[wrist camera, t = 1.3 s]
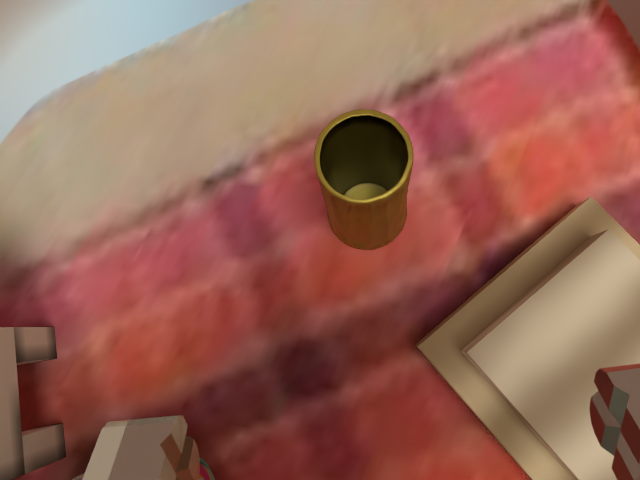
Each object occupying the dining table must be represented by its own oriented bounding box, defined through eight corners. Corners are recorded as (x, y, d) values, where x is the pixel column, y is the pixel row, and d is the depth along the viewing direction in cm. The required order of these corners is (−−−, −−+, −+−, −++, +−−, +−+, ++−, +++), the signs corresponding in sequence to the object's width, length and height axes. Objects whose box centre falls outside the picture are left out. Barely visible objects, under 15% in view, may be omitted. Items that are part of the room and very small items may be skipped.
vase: (422, 219, 42) (446, 167, 28) (357, 266, 42) (348, 235, 28) (376, 158, 43) (376, 78, 29) (312, 203, 43) (282, 144, 29)
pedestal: (742, 373, 38) (809, 382, 32) (570, 525, 38) (606, 562, 32) (575, 205, 41) (609, 185, 35) (414, 345, 41) (421, 348, 35)
